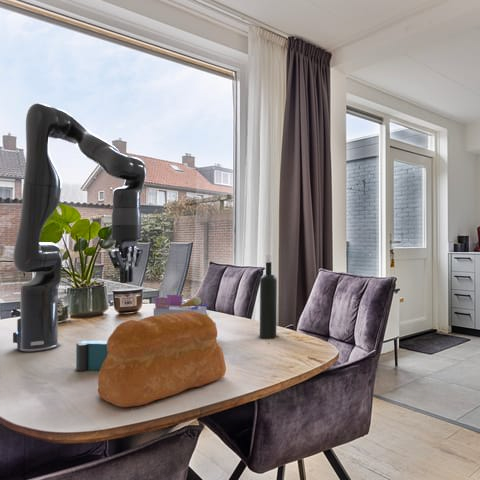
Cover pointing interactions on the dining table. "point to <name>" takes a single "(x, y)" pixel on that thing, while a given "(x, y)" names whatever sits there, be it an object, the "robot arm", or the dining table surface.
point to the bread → (160, 358)
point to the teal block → (90, 355)
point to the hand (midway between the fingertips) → (126, 282)
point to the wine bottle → (268, 301)
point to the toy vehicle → (178, 305)
